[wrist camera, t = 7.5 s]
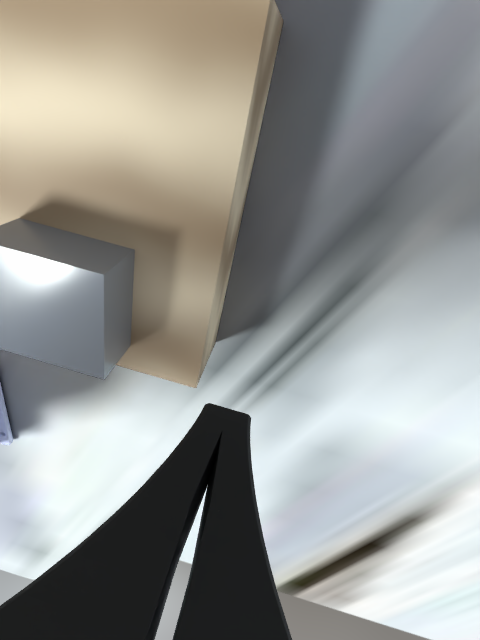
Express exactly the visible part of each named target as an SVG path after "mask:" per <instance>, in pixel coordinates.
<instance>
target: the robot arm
mask: <svg viewBox="0 0 480 640" xmlns="http://www.w3.org/2000/svg"><path fill="white" fill-rule="evenodd" d="M250 423H251V417H250V416H249V415H248V414H245V413H242V412H238V411H235V410H231V409H228V408H224V407H221V406H217V405H214V404H211V403H208V404H206V405H205V406H204V408H203V410H202V412H201V413H200V415H199V417H198V418H197V420H196V421H195V423H194V424H193V426H192V427H191V429H190V430H189V431H188V433H187V434H186V435H185V437H184V438H183V439H182V441H181V442H180V443H179V444H178V446H177V447H176V448H175V449H174V451H173V452H172V453H171V454H170V456H169V457H168V458H167V459H166V460H165V462H164V463H163V464H162V465H161V466H160V467H159V468H158V469H157V470H156V472H155V473H154V474H153V475H152V476H151V477H150V478H149V479H148V480H147V481H146V483H145V484H144V485H143V486H142V487H141V488H140V489H139V490H138V491H137V492H136V493H135V494H134V495H133V496H132V497H131V498H130V499H129V500H128V501H127V502H126V503H125V504H124V505H123V506H122V507H121V508H120V509H119V510H118V511H116V512H115V513H114V514H113V515H112V516H111V517H110V518H109V519H108V520H107V521H106V522H104V523H103V524H102V525H101V526H100V527H99V528H98V529H97V530H96V531H94V532H93V533H92V534H91V535H90V536H89V537H88V538H86V539H85V540H84V541H83V542H82V543H81V544H79V545H78V546H77V547H76V548H75V549H73V550H72V551H71V552H70V553H68V554H67V555H66V556H65V557H63V558H62V559H61V560H60V561H58V562H57V563H56V564H55V565H53V566H52V567H51V568H50V569H48V570H47V571H46V572H45V573H43V574H42V575H41V576H40V577H38V578H37V579H36V580H35V581H33V582H32V583H31V584H29V585H28V586H27V587H25V588H24V589H23V590H21V591H20V592H19V593H17V594H16V595H14V596H13V597H12V598H10V599H9V600H7V601H6V602H5V603H3V604H2V605H1V606H0V640H154V639H155V636H156V632H157V629H158V626H159V622H160V619H161V616H162V612H163V609H164V606H165V602H166V599H167V595H168V592H169V589H170V586H171V582H172V579H173V576H174V573H175V570H176V567H177V564H178V561H179V558H180V556H181V553H182V551H183V548H184V545H185V543H186V540H187V538H188V535H189V532H190V530H191V527H192V525H193V522H194V519H195V517H196V514H197V512H198V509H199V506H200V504H201V501H202V498H203V496H204V493H205V491H206V488H207V492H206V497H205V502H204V507H203V512H202V517H201V522H200V528H199V533H198V538H197V543H196V548H195V553H194V558H193V564H192V568H191V572H190V577H189V581H188V585H187V589H186V592H185V596H184V600H183V603H182V607H181V611H180V615H179V618H178V622H177V625H176V630H175V633H174V636H173V640H292V638H291V635H290V632H289V629H288V625H287V622H286V619H285V616H284V612H283V609H282V606H281V603H280V600H279V597H278V593H277V590H276V586H275V582H274V578H273V575H272V571H271V567H270V563H269V559H268V555H267V551H266V547H265V543H264V538H263V534H262V529H261V524H260V518H259V513H258V507H257V502H256V495H255V489H254V481H253V473H252V463H251V449H250ZM12 442H13V437H12V433H11V428H10V424H9V419H8V415H7V411H6V406H5V402H4V397H3V393H2V388H1V384H0V443H1V444H4V445H10V444H11V443H12ZM207 485H208V487H207Z"/></svg>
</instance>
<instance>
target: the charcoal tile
mask: <svg viewBox="0 0 480 640" xmlns="http://www.w3.org/2000/svg"><path fill="white" fill-rule="evenodd" d="M134 260H135V250H134V249H131V248H127V247H123V246H120V245H116V244H113V243H109V242H105V241H102V240H98V239H94V238H91V237H87V236H83V235H80V234H76V233H72V232H69V231H65V230H61V229H58V228H54V227H51V226H47V225H43V224H40V223H36V222H32V221H29V220H25V219H21V218H18V219H15V220H13V221H10V222H8V223H5V224H2V225H0V349H1V350H4V351H8V352H11V353H14V354H18V355H21V356H25V357H28V358H32V359H35V360H38V361H42V362H45V363H49V364H52V365H55V366H59V367H62V368H66V369H69V370H73V371H76V372H79V373H83V374H86V375H90V376H93V377H96V378H100V379H103V380H105V378H106V377H107V376H108V374H109V373H110V372H111V371H112V369H113V368H114V367H115V365H116V364H117V363H118V361H119V360H120V359H121V357H122V356H123V355H124V354H125V352H126V351H127V350H128V348H129V347H130V346H131V324H132V303H133V281H134Z"/></svg>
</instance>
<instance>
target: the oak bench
mask: <svg viewBox="0 0 480 640" xmlns="http://www.w3.org/2000/svg"><path fill="white" fill-rule="evenodd" d="M282 25H283V19H282V17H281V14H280V12H279V10H278V7H277V5H276V3H275V0H0V225H2V224H5V223H8V222H10V221H13V220H15V219H18V218H21V219H25V220H29V221H32V222H36V223H40V224H43V225H47V226H51V227H54V228H58V229H61V230H65V231H69V232H72V233H76V234H80V235H83V236H87V237H91V238H94V239H98V240H102V241H105V242H109V243H113V244H116V245H120V246H123V247H127V248H131V249H134V250H135V260H134V281H133V303H132V324H131V346H130V347H129V348H128V350H127V351H126V352H125V354H124V355H123V356H122V357H121V359H120V360H119V361H118V363H117V364H116V365H118V366H121V367H125V368H128V369H131V370H135V371H138V372H142V373H145V374H149V375H152V376H156V377H159V378H162V379H166V380H169V381H173V382H176V383H180V384H183V385H187V386H190V387H193V388H196V387H197V385H198V382H199V380H200V378H201V375H202V373H203V371H204V368H205V366H206V364H207V361H208V359H209V357H210V354H211V352H212V349H213V347H214V345H215V342H216V337H217V333H218V328H219V323H220V318H221V314H222V309H223V304H224V299H225V295H226V290H227V285H228V281H229V276H230V271H231V266H232V262H233V257H234V252H235V247H236V243H237V238H238V233H239V229H240V224H241V219H242V214H243V210H244V205H245V200H246V195H247V191H248V186H249V181H250V177H251V172H252V167H253V162H254V158H255V153H256V148H257V144H258V139H259V134H260V129H261V125H262V120H263V115H264V110H265V106H266V101H267V96H268V92H269V87H270V82H271V77H272V73H273V68H274V63H275V58H276V54H277V49H278V44H279V40H280V35H281V30H282Z"/></svg>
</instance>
